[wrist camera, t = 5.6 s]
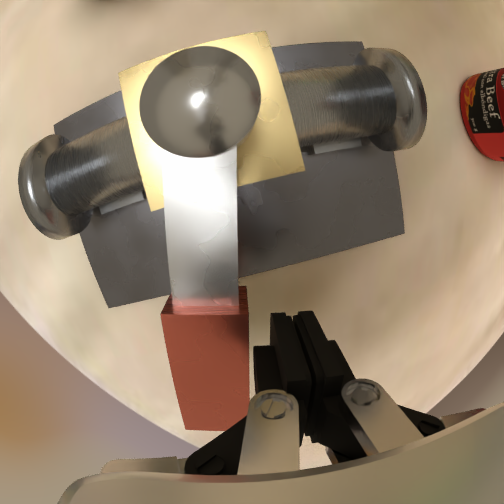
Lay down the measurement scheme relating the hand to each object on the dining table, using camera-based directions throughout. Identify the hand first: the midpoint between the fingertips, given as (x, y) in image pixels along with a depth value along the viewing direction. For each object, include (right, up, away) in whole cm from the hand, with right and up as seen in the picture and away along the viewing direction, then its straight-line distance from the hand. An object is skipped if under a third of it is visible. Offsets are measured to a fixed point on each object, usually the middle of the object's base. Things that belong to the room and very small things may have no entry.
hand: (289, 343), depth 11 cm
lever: (-3, +3, 0) cm, 5 cm away
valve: (-3, +9, +6) cm, 11 cm away
